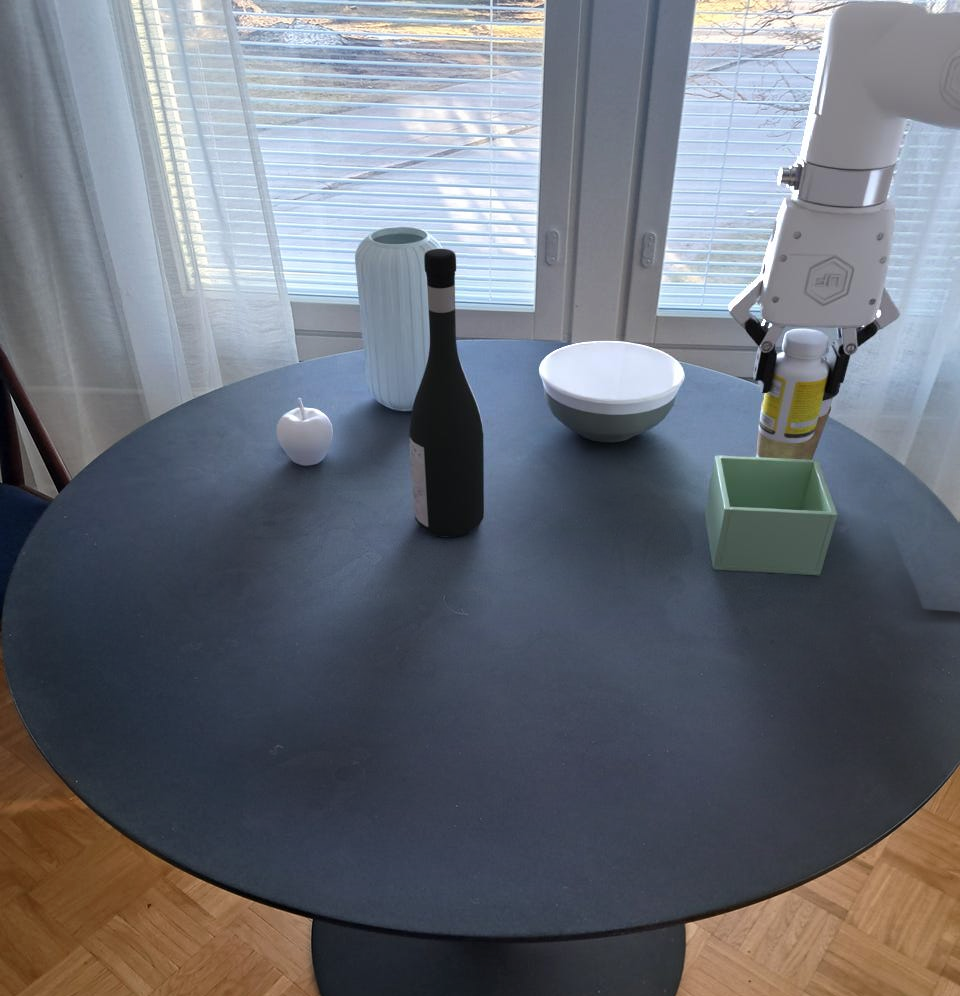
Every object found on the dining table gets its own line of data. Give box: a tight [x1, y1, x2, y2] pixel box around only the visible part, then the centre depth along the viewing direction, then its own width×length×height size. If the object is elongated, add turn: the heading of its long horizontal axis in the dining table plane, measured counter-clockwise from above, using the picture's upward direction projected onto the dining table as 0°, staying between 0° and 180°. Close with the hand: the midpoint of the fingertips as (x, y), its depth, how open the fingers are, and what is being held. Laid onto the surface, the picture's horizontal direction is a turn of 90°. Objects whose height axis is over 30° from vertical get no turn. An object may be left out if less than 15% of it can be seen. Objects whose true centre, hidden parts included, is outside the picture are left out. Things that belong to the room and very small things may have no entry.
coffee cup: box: [755, 357, 842, 460], centre depth 106 cm, size 8×8×15 cm
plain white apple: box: [275, 397, 334, 466], centre depth 113 cm, size 7×7×8 cm
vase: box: [354, 225, 443, 412], centre depth 121 cm, size 12×12×22 cm
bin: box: [704, 455, 838, 576], centre depth 98 cm, size 11×11×8 cm
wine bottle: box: [408, 248, 485, 538], centre depth 94 cm, size 8×8×30 cm
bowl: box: [538, 340, 686, 443], centre depth 119 cm, size 19×19×8 cm
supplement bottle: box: [758, 328, 830, 444], centre depth 87 cm, size 5×5×10 cm
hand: (795, 386), depth 87 cm, fingers closed on supplement bottle, 5 cm apart
